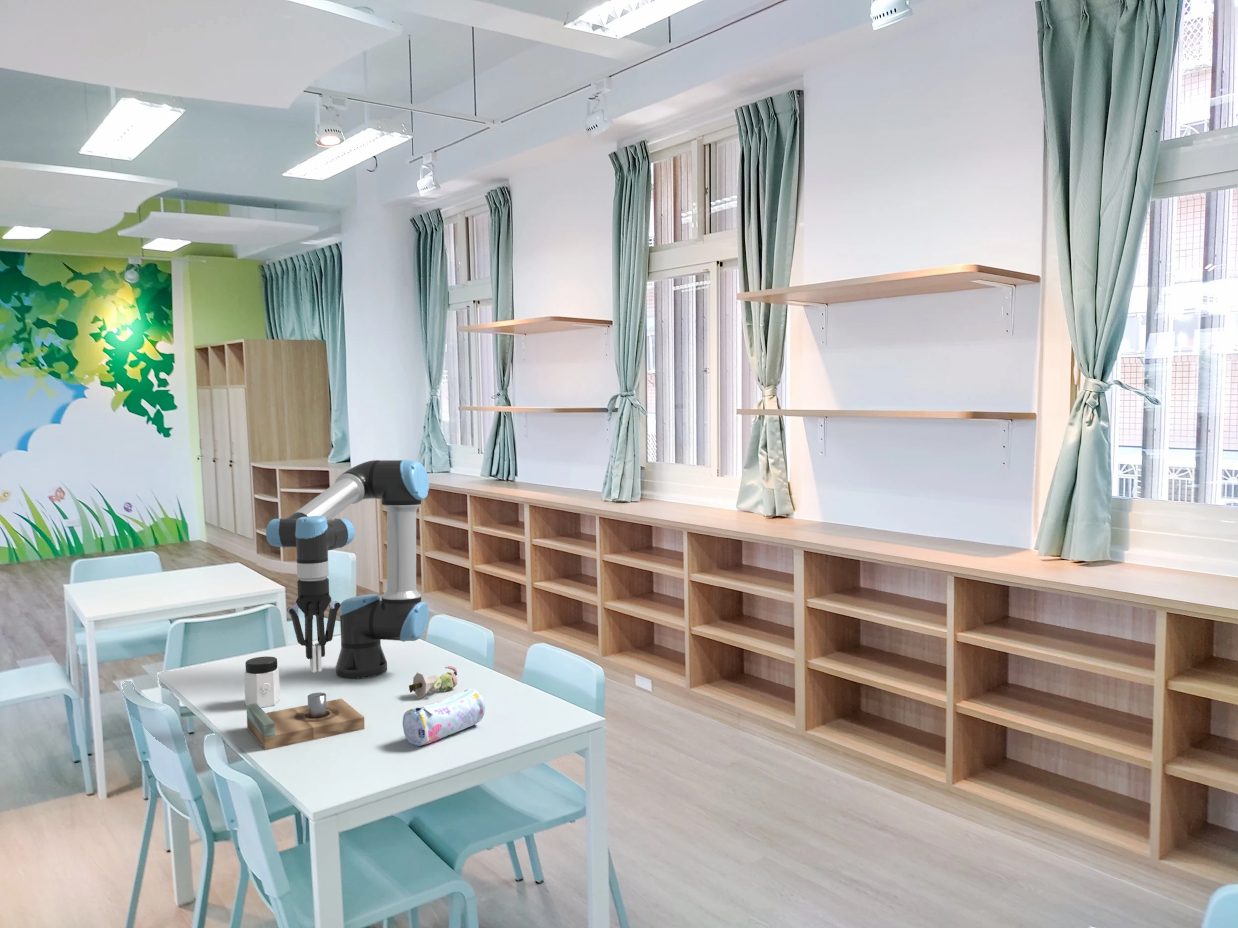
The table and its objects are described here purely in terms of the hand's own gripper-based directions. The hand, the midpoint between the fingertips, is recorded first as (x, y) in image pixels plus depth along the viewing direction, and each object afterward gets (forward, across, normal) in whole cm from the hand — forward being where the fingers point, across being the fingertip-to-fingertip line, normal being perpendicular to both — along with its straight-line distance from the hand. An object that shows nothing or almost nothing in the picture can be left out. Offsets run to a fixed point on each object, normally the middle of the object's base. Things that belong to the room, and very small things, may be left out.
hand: (316, 670), depth 231 cm
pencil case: (+15, -24, +24) cm, 37 cm away
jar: (+15, +7, -27) cm, 31 cm away
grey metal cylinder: (+14, 0, 0) cm, 14 cm away
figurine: (+15, -35, -7) cm, 39 cm away
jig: (+14, +3, 0) cm, 15 cm away
